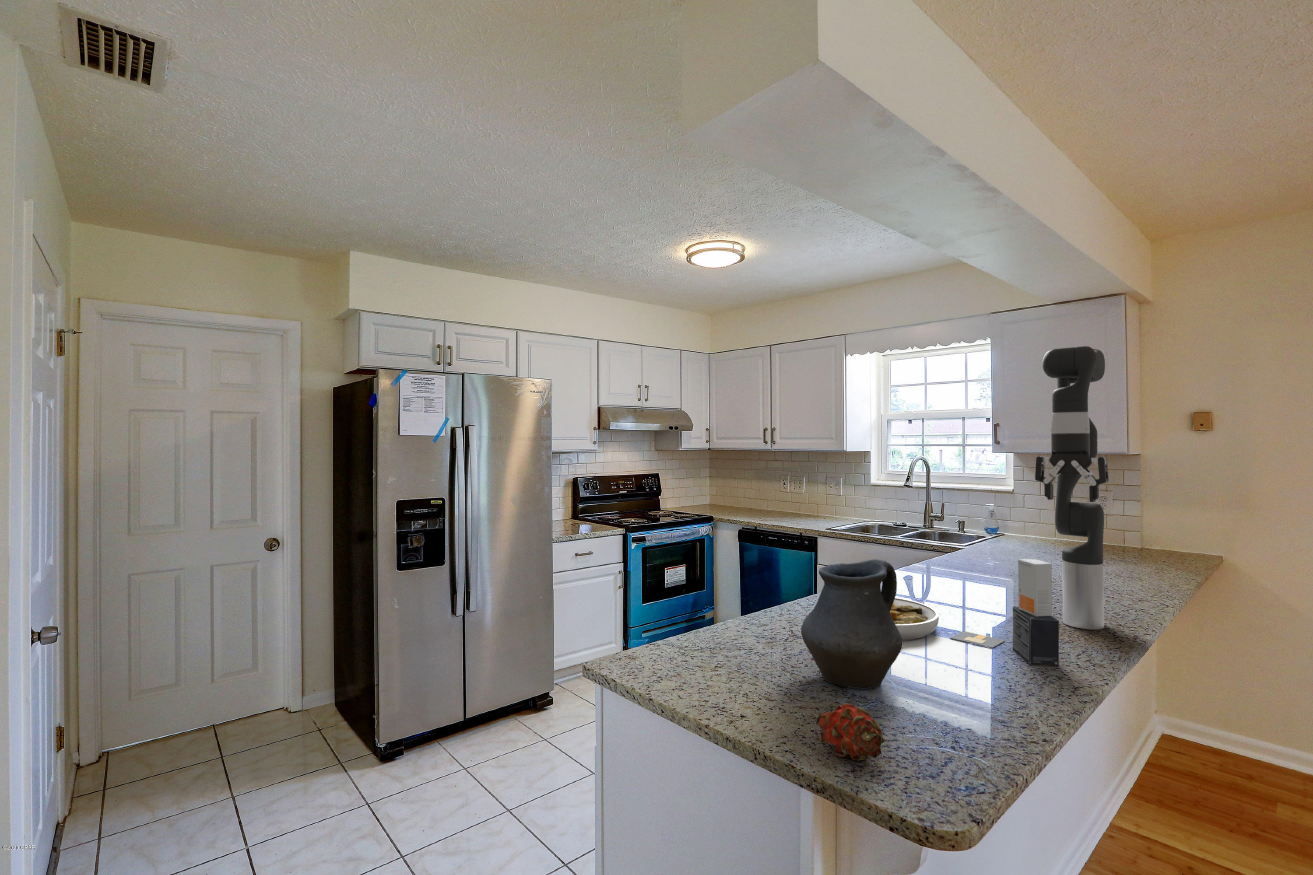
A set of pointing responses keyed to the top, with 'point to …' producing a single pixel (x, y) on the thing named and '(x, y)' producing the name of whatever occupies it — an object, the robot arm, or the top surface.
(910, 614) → the bowl
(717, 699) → the top surface
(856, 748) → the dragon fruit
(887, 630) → the pitcher
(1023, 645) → the small box
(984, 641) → the card
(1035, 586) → the skincare box
